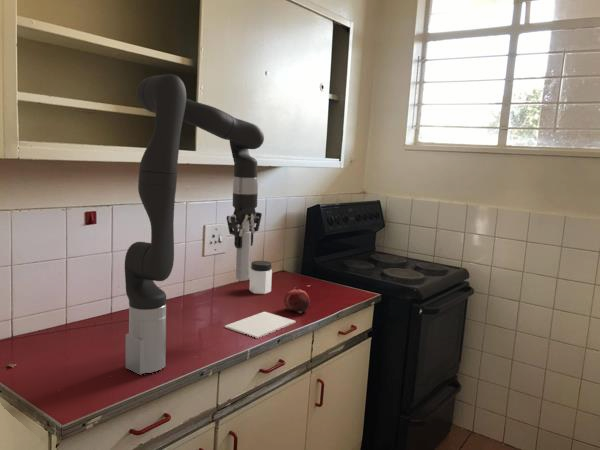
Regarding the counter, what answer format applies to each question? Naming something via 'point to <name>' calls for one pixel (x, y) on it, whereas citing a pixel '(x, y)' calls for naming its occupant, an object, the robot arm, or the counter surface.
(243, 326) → the tile
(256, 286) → the jar
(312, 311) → the counter surface
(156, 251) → the robot arm
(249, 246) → the bottle
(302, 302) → the fruit
